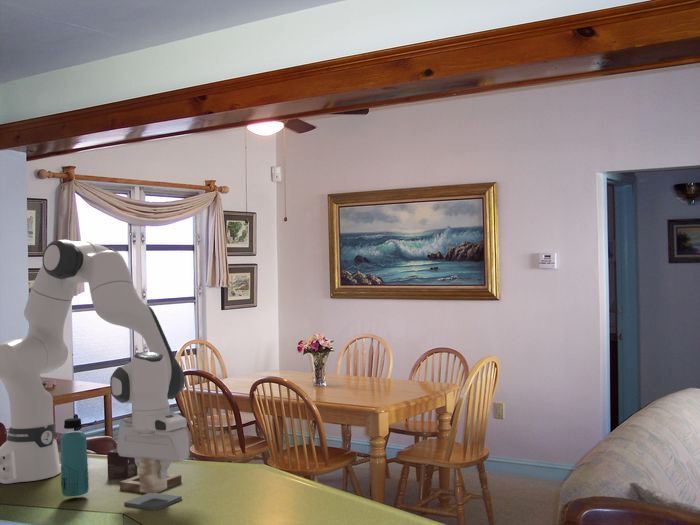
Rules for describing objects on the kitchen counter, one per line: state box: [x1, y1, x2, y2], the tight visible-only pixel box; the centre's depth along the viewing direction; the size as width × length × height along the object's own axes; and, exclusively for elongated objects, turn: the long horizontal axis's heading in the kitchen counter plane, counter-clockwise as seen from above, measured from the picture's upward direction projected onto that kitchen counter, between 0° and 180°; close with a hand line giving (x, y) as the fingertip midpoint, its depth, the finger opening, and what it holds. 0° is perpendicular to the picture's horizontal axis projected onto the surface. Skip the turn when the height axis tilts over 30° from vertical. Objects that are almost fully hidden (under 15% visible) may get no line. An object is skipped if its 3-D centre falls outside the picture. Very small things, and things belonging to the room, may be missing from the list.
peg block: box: [138, 458, 168, 494], centre depth 183 cm, size 4×4×8 cm
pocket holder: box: [119, 473, 182, 494], centre depth 197 cm, size 11×11×2 cm
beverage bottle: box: [59, 417, 90, 498], centre depth 188 cm, size 6×7×20 cm
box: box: [106, 447, 139, 480], centre depth 209 cm, size 6×6×7 cm
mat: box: [123, 492, 183, 511], centre depth 182 cm, size 10×9×1 cm
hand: (153, 477), depth 182 cm, fingers closed on peg block, 4 cm apart
